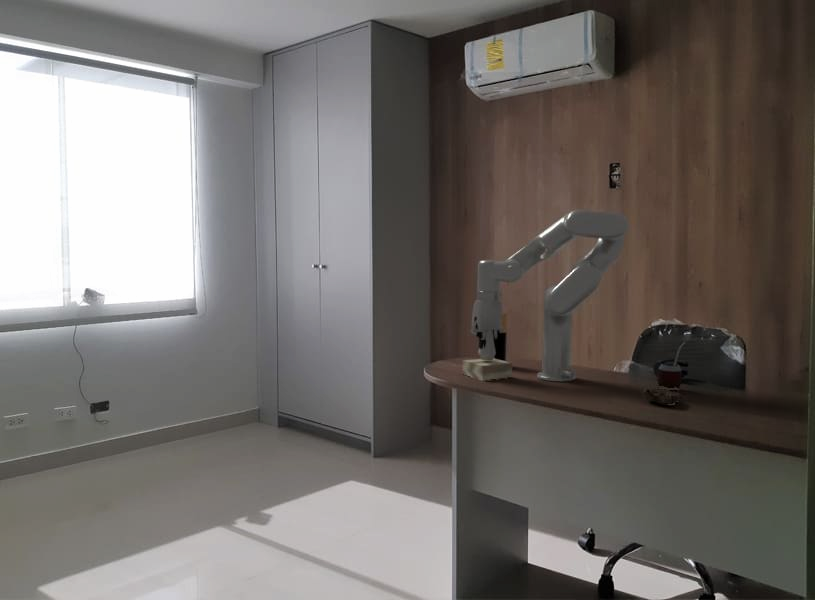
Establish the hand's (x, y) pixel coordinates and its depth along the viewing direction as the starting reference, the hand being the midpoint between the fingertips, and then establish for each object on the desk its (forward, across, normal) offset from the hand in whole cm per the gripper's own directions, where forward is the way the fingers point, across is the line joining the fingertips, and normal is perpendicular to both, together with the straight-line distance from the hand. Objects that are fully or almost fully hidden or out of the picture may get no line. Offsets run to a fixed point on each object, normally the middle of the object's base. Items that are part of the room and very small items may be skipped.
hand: (487, 350), depth 231 cm
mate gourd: (+9, -39, +44) cm, 59 cm away
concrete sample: (+9, -22, +55) cm, 60 cm away
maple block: (+9, 0, 0) cm, 9 cm away
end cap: (+9, -53, +32) cm, 63 cm away
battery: (+9, -14, -13) cm, 22 cm away
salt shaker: (+3, 0, 0) cm, 3 cm away
